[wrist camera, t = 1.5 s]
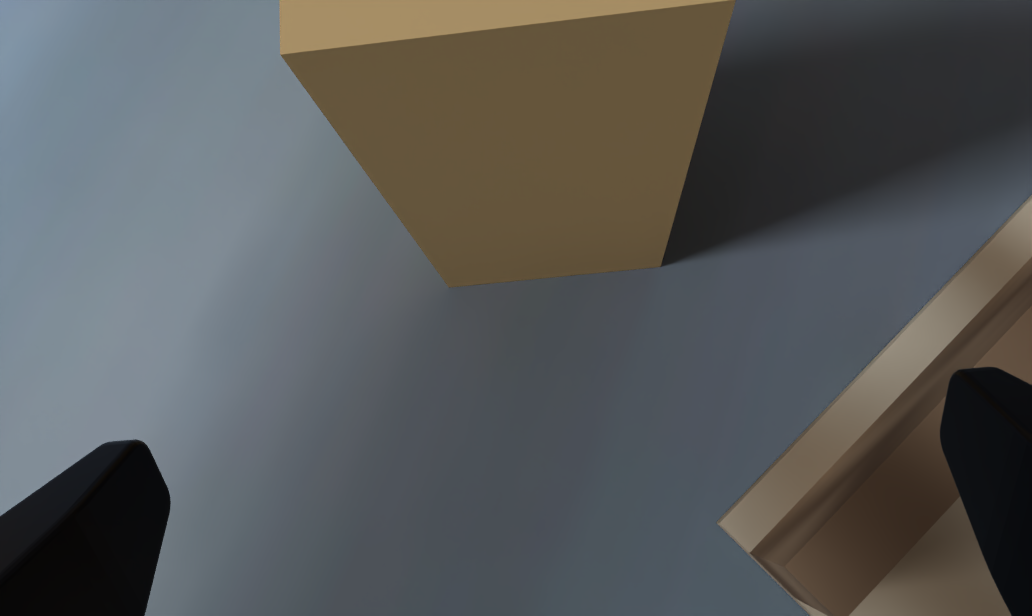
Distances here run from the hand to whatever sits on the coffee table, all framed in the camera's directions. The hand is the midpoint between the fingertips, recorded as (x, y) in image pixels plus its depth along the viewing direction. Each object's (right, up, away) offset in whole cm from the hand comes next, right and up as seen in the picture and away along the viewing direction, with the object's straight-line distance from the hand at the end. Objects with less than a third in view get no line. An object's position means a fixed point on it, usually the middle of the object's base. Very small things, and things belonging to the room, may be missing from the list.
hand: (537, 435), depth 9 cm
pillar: (+1, +5, +15) cm, 15 cm away
